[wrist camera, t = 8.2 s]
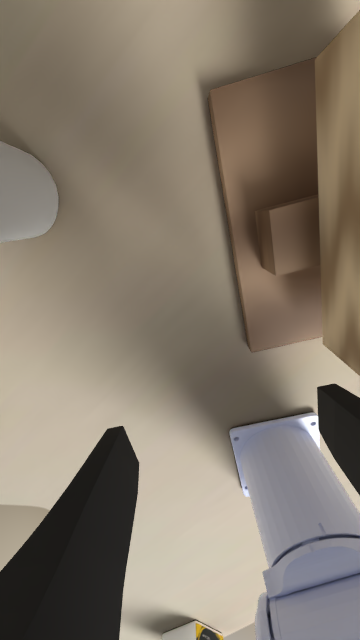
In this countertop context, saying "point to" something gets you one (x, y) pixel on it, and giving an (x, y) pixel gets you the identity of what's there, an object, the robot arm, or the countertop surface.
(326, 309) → the beam
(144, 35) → the countertop surface
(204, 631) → the medicine bottle
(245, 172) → the fulcrum
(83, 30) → the countertop surface
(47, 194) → the beverage can
